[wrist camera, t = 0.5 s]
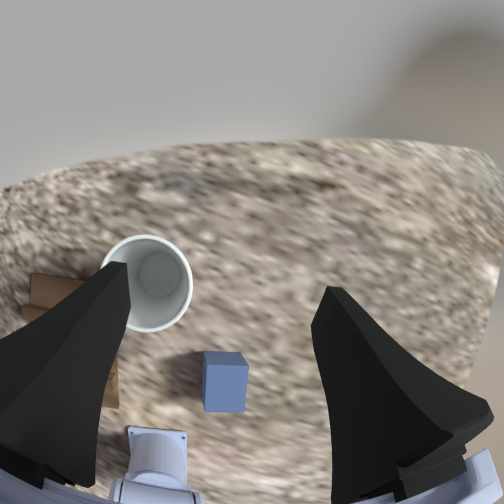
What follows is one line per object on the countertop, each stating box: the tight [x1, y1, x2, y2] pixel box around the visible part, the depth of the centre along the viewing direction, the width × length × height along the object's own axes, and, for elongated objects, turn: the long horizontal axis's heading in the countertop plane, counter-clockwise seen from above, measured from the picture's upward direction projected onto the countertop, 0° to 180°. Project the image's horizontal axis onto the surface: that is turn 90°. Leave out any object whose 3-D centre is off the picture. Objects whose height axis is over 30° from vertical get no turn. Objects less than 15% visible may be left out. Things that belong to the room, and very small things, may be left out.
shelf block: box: [201, 351, 249, 412], centre depth 32 cm, size 6×4×5 cm
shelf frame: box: [22, 273, 119, 409], centre depth 28 cm, size 16×12×4 cm
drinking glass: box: [100, 234, 193, 332], centre depth 26 cm, size 7×7×15 cm
